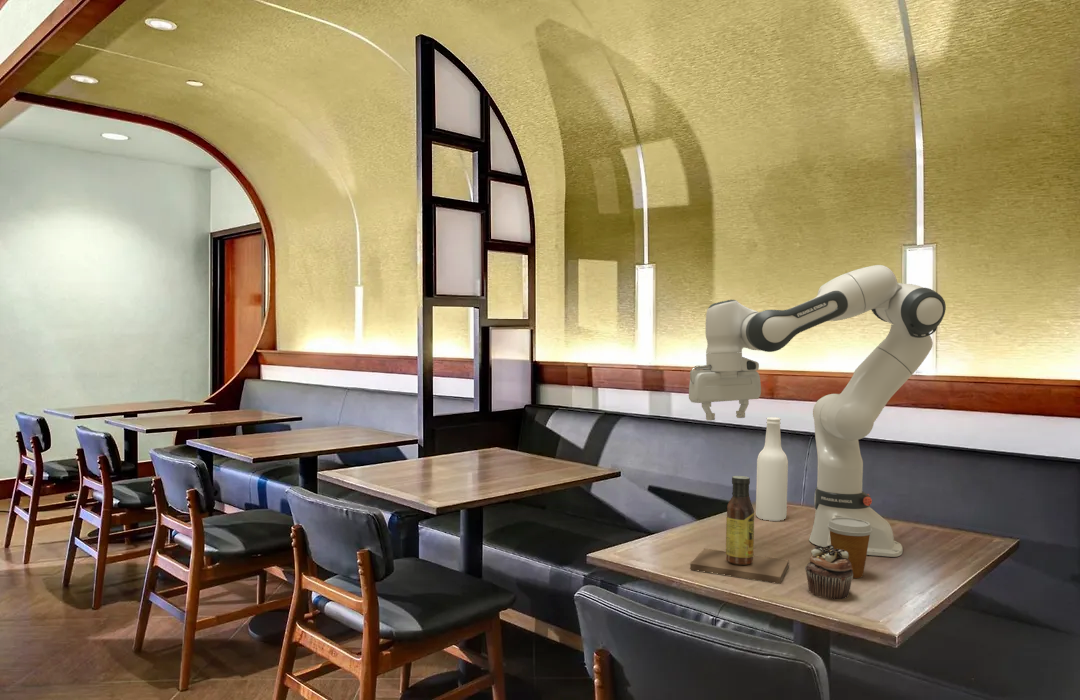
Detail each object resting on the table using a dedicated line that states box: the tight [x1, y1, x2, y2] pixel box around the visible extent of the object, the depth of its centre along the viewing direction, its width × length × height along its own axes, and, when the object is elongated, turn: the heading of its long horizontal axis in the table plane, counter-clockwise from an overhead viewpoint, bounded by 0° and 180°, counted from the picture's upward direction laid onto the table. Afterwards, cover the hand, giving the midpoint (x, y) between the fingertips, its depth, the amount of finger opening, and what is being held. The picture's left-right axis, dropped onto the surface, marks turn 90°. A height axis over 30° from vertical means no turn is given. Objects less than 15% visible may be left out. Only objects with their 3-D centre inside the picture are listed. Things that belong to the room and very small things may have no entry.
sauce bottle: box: [725, 475, 755, 565], centre depth 177 cm, size 6×6×20 cm
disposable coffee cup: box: [828, 517, 872, 579], centre depth 175 cm, size 10×10×12 cm
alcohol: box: [755, 416, 789, 522], centre depth 226 cm, size 9×9×30 cm
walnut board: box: [689, 548, 790, 584], centre depth 177 cm, size 20×14×2 cm
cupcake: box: [804, 545, 854, 600], centre depth 162 cm, size 10×10×10 cm
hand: (725, 419), depth 192 cm, fingers open, 8 cm apart
